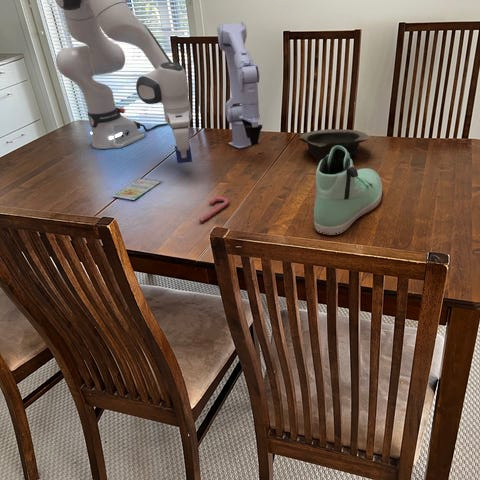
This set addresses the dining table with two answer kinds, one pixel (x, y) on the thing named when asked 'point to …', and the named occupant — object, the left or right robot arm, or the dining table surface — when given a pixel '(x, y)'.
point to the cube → (183, 160)
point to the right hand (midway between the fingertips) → (252, 140)
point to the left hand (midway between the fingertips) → (183, 154)
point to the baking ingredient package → (136, 189)
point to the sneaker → (343, 192)
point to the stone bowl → (333, 141)
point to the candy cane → (215, 208)
